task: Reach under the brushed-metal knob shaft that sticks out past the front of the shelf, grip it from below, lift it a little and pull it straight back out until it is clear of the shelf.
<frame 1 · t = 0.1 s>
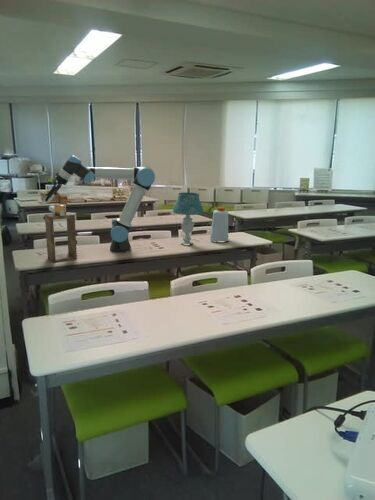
hand: (45, 203, 241), 36 cm above the table, tool tilted 35°, fingers open, 13 cm apart
table lamp: (186, 244, 294), on the table
stand: (62, 258, 245), on the table
plastic bottle: (218, 241, 308), on the table
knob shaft: (56, 212, 242), point 30 cm above the table, touching stand
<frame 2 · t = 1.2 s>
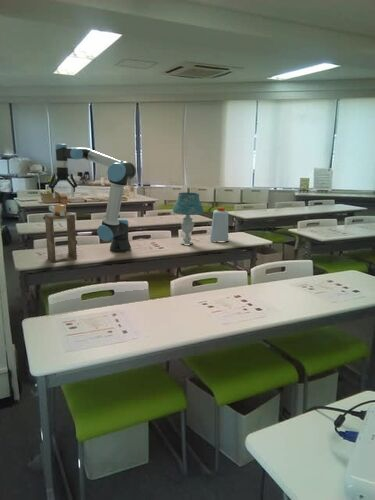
hand: (63, 197, 263), 37 cm above the table, tool pointing down, fingers open, 13 cm apart
nothing on the table moved.
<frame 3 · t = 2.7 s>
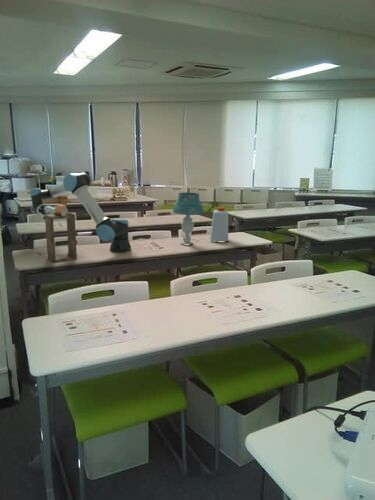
hand: (58, 210, 254), 29 cm above the table, tool horizontal, fingers open, 13 cm apart
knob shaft: (55, 212, 241), point 30 cm above the table, touching stand
everything else where it was.
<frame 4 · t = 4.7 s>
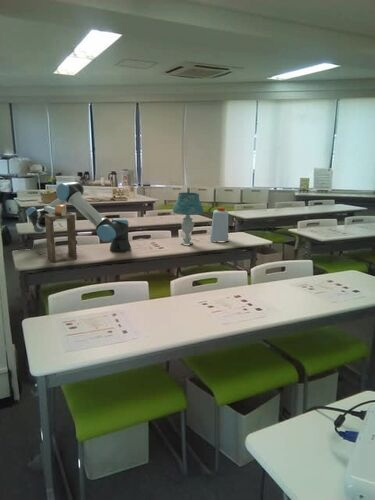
hand: (49, 212, 252), 28 cm above the table, tool pointing upward, fingers open, 13 cm apart
nothing on the table moved.
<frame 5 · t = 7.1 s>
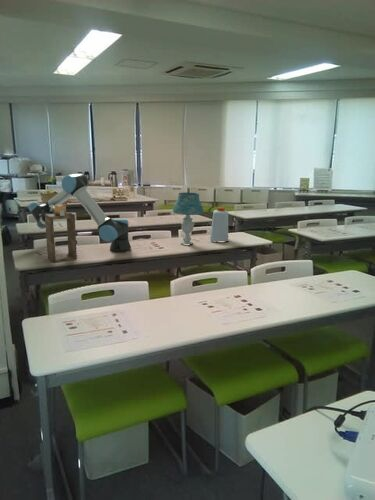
hand: (55, 205, 242), 34 cm above the table, tool pointing upward, fingers closed on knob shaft, 3 cm apart
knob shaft: (56, 212, 242), point 30 cm above the table, touching gripper, stand
everything else where it was.
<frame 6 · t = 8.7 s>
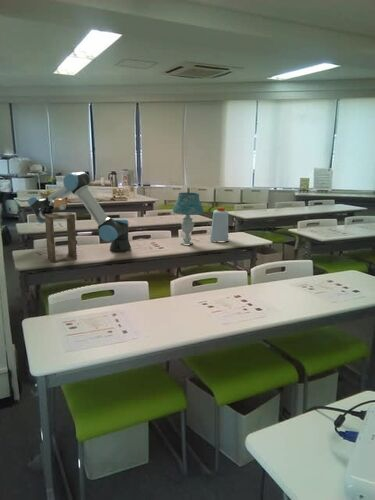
hand: (54, 199, 241), 38 cm above the table, tool pointing upward, fingers closed on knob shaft, 3 cm apart
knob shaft: (56, 206, 240), point 34 cm above the table, touching gripper
everything else where it was.
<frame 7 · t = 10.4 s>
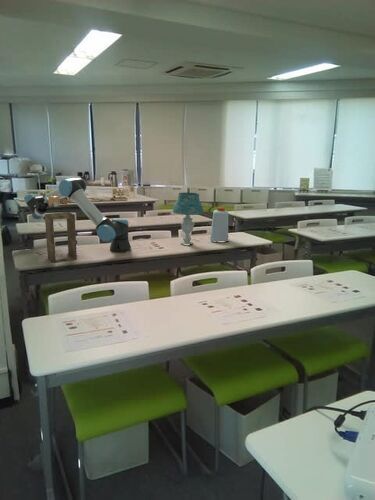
hand: (49, 197, 248), 39 cm above the table, tool pointing upward, fingers closed on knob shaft, 3 cm apart
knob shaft: (50, 204, 248), point 34 cm above the table, touching gripper
everything else where it was.
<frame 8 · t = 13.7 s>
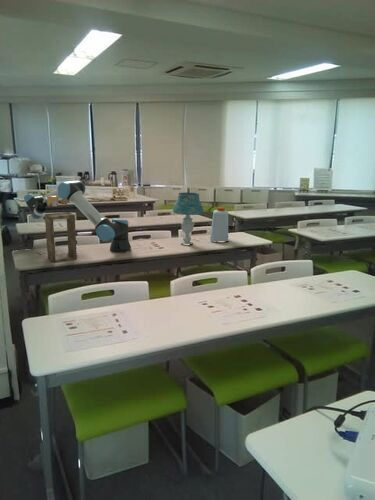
hand: (48, 197, 252), 38 cm above the table, tool pointing upward, fingers closed on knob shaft, 3 cm apart
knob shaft: (49, 203, 251), point 34 cm above the table, touching gripper
everything else where it was.
at the end: the gripper is holding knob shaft; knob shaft inside the target area (1.6 cm from its centre), point 33.9 cm above the table; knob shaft touching gripper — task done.
